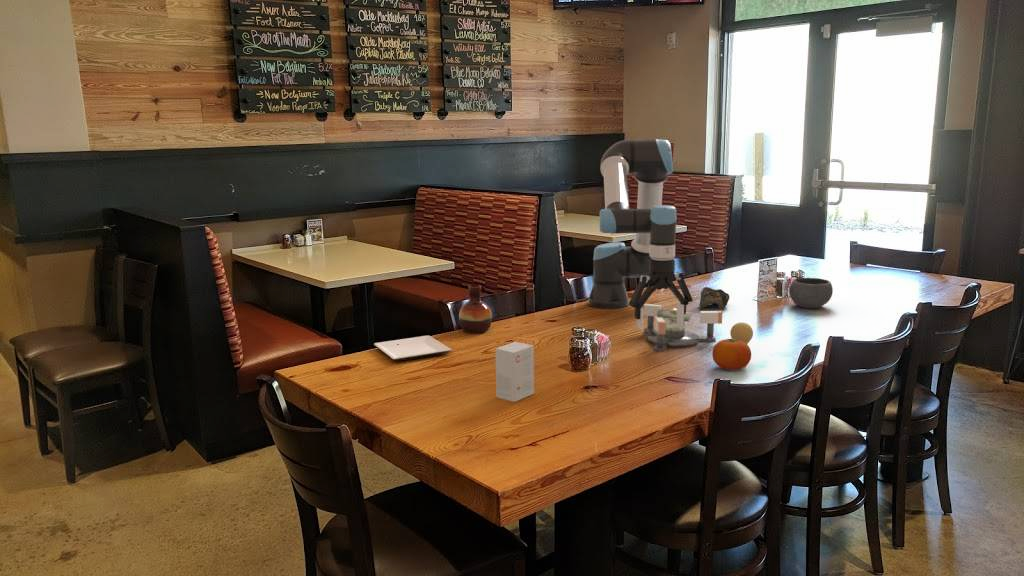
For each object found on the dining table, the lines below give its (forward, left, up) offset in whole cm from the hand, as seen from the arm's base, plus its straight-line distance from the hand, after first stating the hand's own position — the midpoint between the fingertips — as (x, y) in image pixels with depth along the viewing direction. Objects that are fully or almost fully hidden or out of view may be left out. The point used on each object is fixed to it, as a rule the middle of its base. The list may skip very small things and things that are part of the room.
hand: (660, 327), depth 236 cm
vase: (-62, -9, -7) cm, 63 cm away
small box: (-17, -57, -7) cm, 60 cm away
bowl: (+28, +78, -7) cm, 83 cm away
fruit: (+24, -8, -7) cm, 26 cm away
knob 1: (-10, +17, -6) cm, 20 cm away
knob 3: (+10, +17, -6) cm, 21 cm away
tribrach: (0, +9, -7) cm, 11 cm away
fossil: (-3, +62, -7) cm, 62 cm away
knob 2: (0, 0, -6) cm, 6 cm away
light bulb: (+23, +5, -7) cm, 25 cm away
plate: (-65, -39, -7) cm, 76 cm away
